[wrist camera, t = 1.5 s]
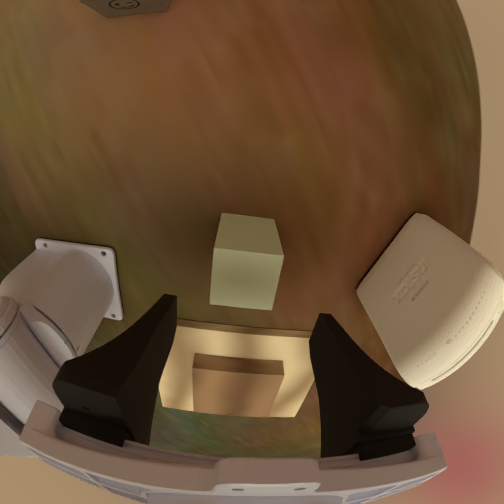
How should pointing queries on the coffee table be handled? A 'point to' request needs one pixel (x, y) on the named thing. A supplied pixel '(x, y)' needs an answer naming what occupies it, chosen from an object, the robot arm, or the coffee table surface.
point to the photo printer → (431, 301)
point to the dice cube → (126, 6)
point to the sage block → (246, 262)
